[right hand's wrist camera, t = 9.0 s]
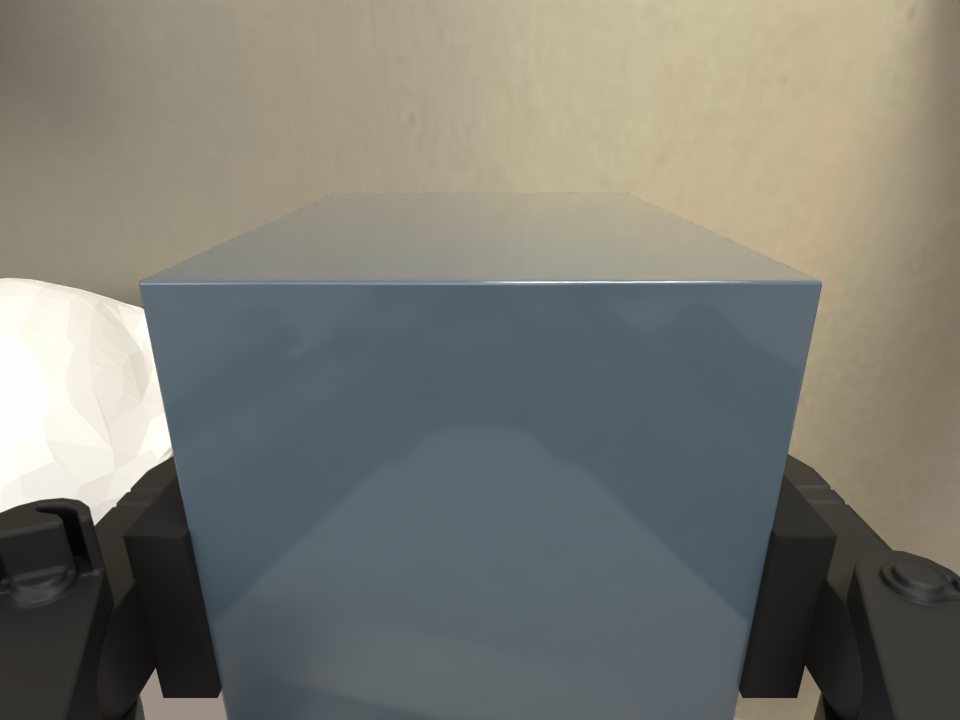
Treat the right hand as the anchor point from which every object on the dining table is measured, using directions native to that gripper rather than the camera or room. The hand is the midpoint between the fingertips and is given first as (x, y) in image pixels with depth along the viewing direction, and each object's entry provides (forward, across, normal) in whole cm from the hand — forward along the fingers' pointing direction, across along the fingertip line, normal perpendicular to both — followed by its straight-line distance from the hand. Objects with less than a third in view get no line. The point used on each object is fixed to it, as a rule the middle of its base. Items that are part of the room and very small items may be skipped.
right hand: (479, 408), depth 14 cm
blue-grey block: (+3, 0, 0) cm, 3 cm away
